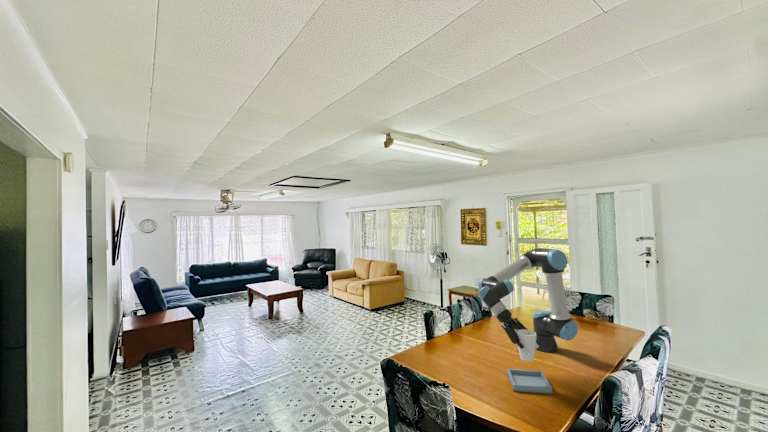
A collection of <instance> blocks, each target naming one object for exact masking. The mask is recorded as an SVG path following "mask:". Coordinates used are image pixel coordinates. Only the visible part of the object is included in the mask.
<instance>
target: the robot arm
mask: <svg viewBox="0 0 768 432" xmlns="http://www.w3.org/2000/svg"><path fill="white" fill-rule="evenodd" d="M567 266H568V257H567V254H565V253H564V252H563V251H562V250H560V249H556V248H540V247H539V248H533V249H530V250H528V251H526V252H524V253H523V254H521V255H520V256H518V259H517V260H515V261H513V262H512V263H510V264H508V265H507V266H505V267H504V268H502V269H500V270H498V271H497V272H495V273H493V274H492V275H490V276H488V277H487V278H485V277H482V278H480V279H479V280H478V282H477V286H478V289H479V290H478V293H477V294H478V296H479V298H480V299H481V301H482V302H484V304H485V305H486V306H487V308H488V309H489V310H490V311H491V313H492V314H493V315H494V316H496V319H497V320H498V322H500V323H501V326H500V327H502V329H503V330H504V331H505V333H506V335H507V336H508V338H509V340H510V341H511V343H513V344H514V345H517V347H518V346H519V347H520V348H521V349H522V351H523V352H524V353H525V354H526V356H527V355H528V354H529V353H531V352H530V350H529V349H528V348H527V347H526V346H525V344H524V343H523V342H522V341H520V340H519V338H518V336H517V333H516V330H520V329H526V330H529V329H528V328H527V327H526V326H525V325H524V324H523V323H522V322H520V320H519V319H518V318H517V317H515V318H514V317H512V312H511V311H510V310H509V309H507V306H506V305H505V304H504V302H502V300H501V299H504V298H505V297H507V296H509V295H510V294H511V293H513V292H514V290H515V288H514V287H515V286H514V285H513V282H511V281H510V280H512V279H513V278H514V277H516V276H518V275H520V274H521V273H523V272H524V271H526V270H532V269H533V268H541V271H542V273H543V274H544V275H545V280H546V285H547V290H548V291H547V292H548V298H549V303H550V304H549V305H550V309H551V310H536V311H534V312H533V314H532V320H533V321H532V322H533V331H534V332H536V338H537V339H536V344H535V351H538V352H539V351H540V352H544V353H545V352H546V353H553V352H554V353H555V352H557V351H558V350H559V345H558V343H557V340H556V338H555V337H557V338H559V339H561V340H565V341H571V340H574V339H575V337H576V336H577V334H578V332H579V326H578V323H577V322H575V321H573V319H572V317H573V316H572V315H571V314H570V313H569V312H568V305H567V304H568V303H567V299H566V292H565V285H564V279H563V273H564V272H565V269H566V268H567Z"/></svg>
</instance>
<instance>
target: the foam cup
mask: <svg viewBox="0 0 768 432" xmlns="http://www.w3.org/2000/svg"><path fill="white" fill-rule="evenodd" d="M515 331H516V333H517V336H518V338H519V340H520V341H522V342H523V343H524V344H525V346H526V347H527V348H528V349H529V350H530V352H531V353H529V354H528V355H527V356H526V354H525V353H524V352H523V351H522V349H521V348H520V347H519V346H518V345H517V347H518V348H517V349H518V352H519V354H518V355H519V358H520V360H521V361H525V362H533V361H534V359H535V354H536V353H535V352H536V349H535V344H536V339H537V338H536V332H534V330H531V329H528V330H526V329H520V330H516V329H515Z"/></svg>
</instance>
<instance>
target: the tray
mask: <svg viewBox="0 0 768 432" xmlns="http://www.w3.org/2000/svg"><path fill="white" fill-rule="evenodd" d="M506 371H507V373H506V375H507V377H508V379H509V383H510V385H511V387H512V390H513V392H520V393H521V392H522V393H532V394H543V395H545V394H546V395H553V394H554V393H553V386H552V385H551V384H550V382H549V380H548V378H547V376H545V373H543V371H542V370H531V369H527V370H526V369H516V368H506Z"/></svg>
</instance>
